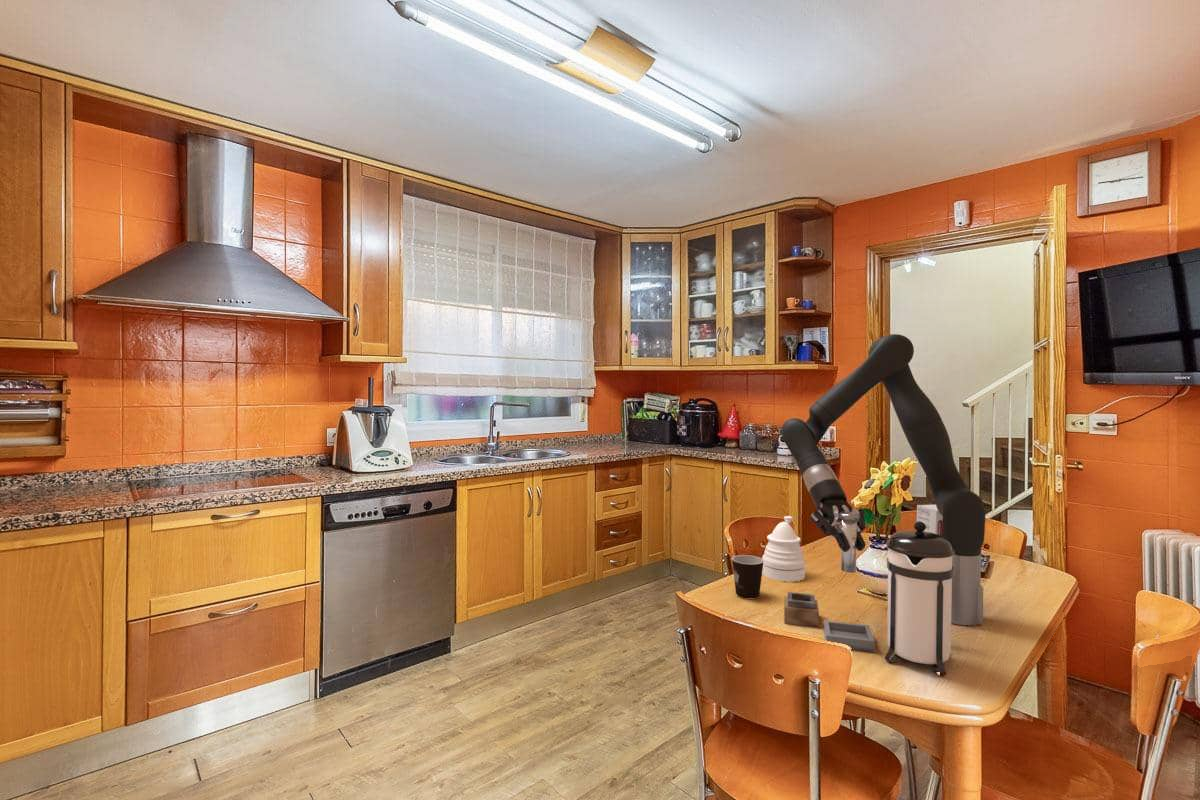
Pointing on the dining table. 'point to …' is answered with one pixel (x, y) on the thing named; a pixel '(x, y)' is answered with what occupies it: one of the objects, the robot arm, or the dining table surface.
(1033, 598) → the dining table surface
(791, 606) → the block
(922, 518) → the supplement box
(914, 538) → the coffee press
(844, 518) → the pin
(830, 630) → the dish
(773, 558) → the honey pot
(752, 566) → the coffee mug
